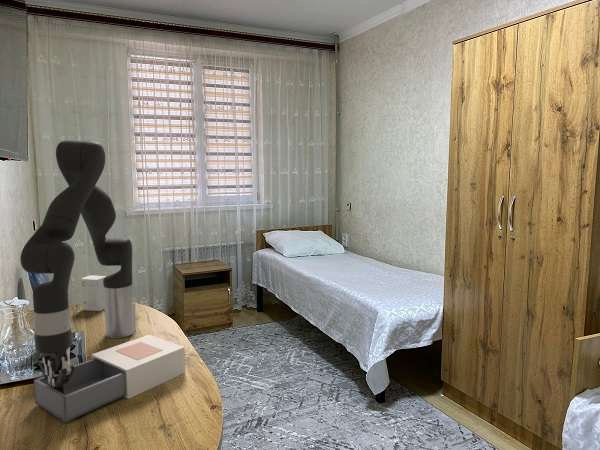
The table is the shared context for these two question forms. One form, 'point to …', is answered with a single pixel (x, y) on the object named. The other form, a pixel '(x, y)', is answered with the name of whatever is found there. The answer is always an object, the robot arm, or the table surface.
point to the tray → (82, 390)
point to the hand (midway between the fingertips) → (57, 399)
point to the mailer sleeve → (145, 362)
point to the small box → (92, 293)
